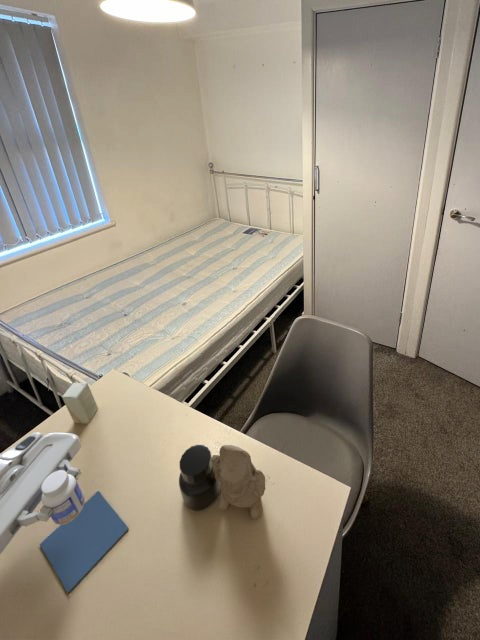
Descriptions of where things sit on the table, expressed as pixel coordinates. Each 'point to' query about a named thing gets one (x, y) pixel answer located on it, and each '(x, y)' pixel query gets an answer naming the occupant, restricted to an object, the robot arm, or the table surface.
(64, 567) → the mat
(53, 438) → the robot arm
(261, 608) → the table surface
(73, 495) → the pill bottle
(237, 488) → the figurine
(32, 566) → the table surface
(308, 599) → the table surface
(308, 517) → the table surface
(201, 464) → the ink bottle
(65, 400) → the box
